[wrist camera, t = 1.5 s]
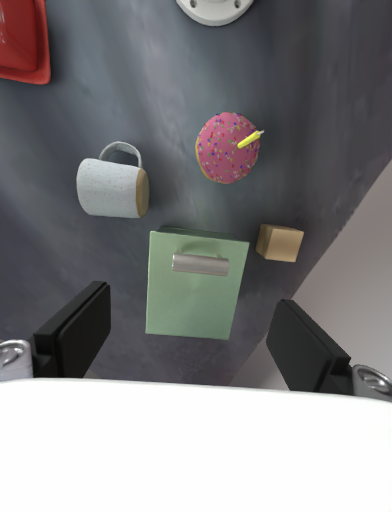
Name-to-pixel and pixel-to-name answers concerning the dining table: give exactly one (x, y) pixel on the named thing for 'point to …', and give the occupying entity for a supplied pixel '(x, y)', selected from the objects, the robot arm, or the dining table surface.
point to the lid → (193, 284)
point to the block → (279, 242)
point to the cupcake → (227, 147)
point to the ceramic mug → (113, 185)
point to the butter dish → (24, 41)
